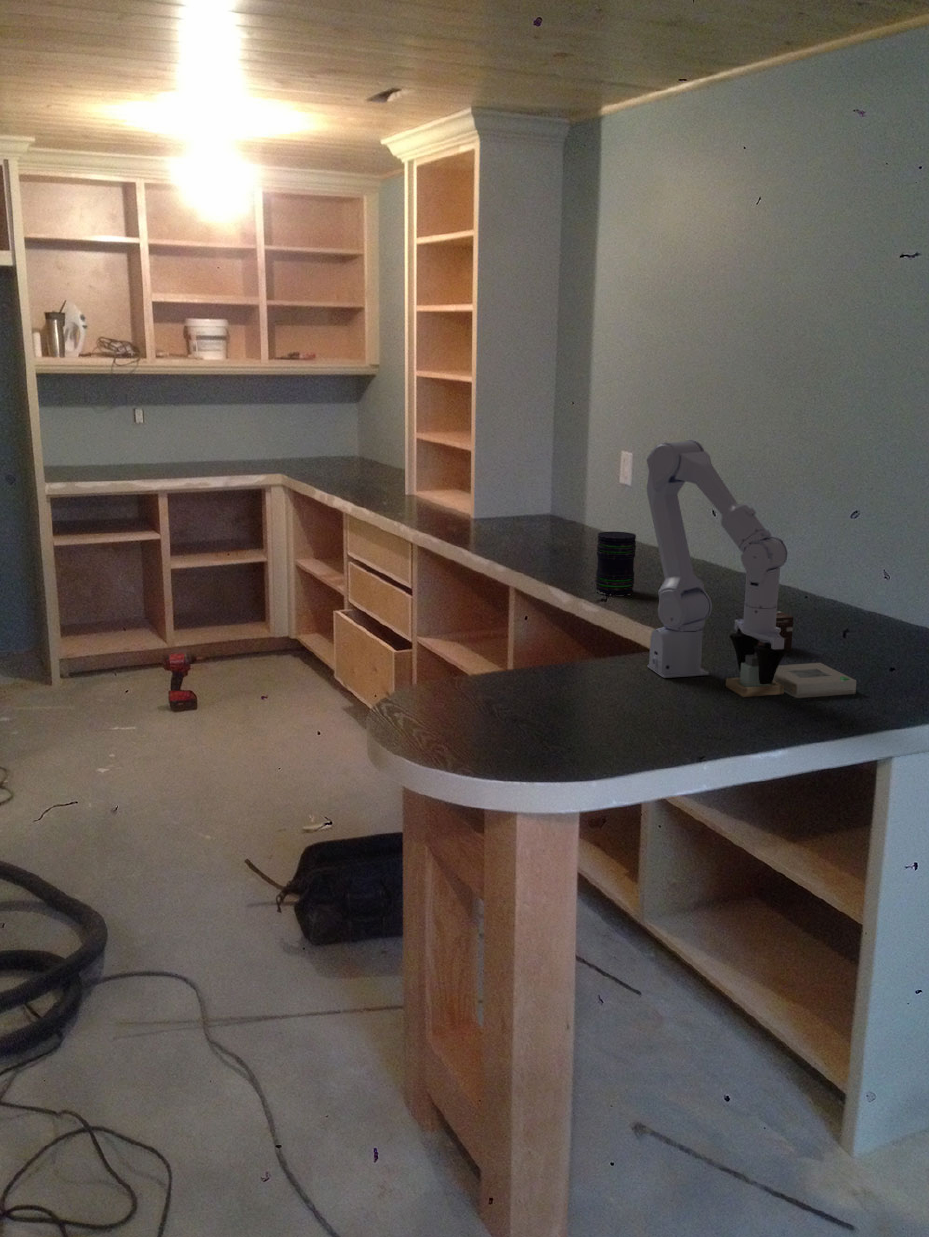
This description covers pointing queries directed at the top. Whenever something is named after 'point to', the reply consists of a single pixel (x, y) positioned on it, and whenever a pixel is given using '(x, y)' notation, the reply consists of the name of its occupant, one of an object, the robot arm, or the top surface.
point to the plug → (750, 672)
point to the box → (783, 629)
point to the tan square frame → (754, 688)
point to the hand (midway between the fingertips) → (755, 677)
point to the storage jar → (615, 562)
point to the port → (813, 680)
